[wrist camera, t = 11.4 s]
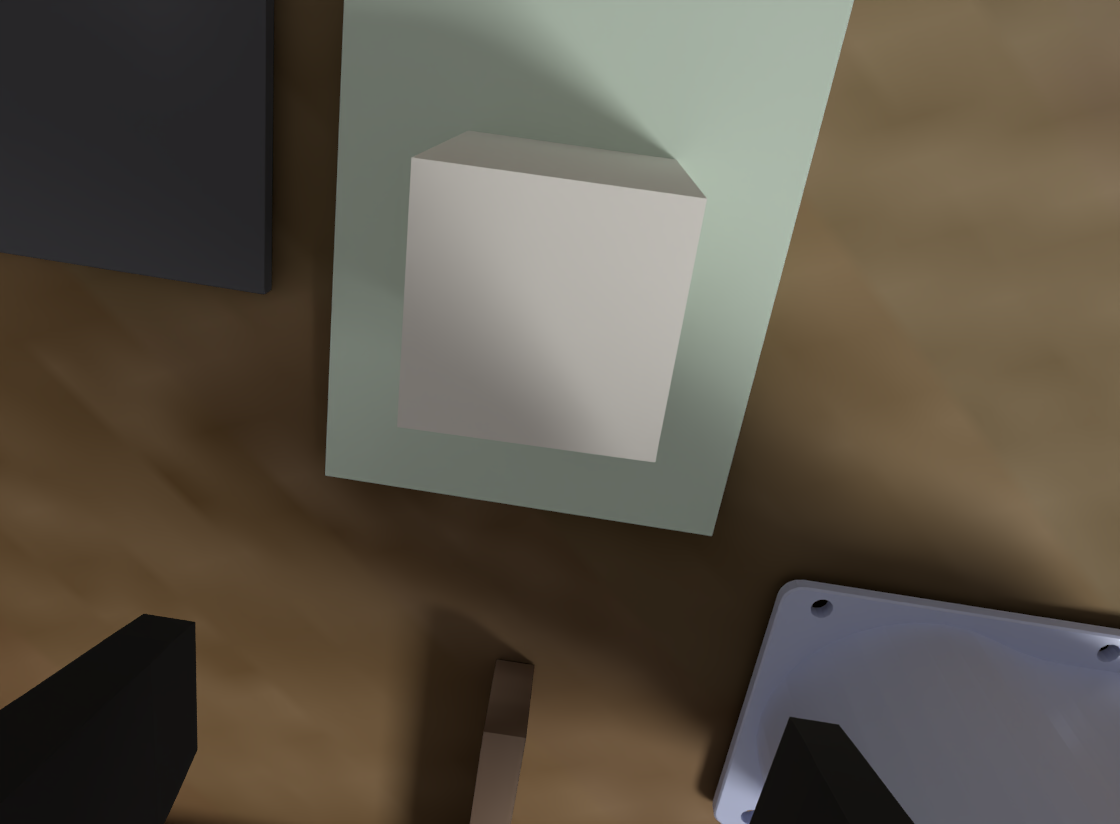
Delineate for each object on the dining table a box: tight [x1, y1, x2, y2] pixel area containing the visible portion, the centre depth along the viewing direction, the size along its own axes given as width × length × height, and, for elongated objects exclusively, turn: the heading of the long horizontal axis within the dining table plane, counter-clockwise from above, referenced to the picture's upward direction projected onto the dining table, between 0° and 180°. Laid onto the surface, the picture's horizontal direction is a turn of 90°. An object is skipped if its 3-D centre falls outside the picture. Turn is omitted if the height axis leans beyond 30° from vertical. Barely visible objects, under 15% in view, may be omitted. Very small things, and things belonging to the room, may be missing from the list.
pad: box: [325, 0, 854, 536], centre depth 17 cm, size 9×12×1 cm
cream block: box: [397, 130, 707, 462], centre depth 14 cm, size 4×4×5 cm
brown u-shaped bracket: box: [470, 659, 534, 824], centre depth 22 cm, size 17×10×2 cm, turn 81°
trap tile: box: [0, 0, 274, 294], centre depth 16 cm, size 6×6×1 cm
